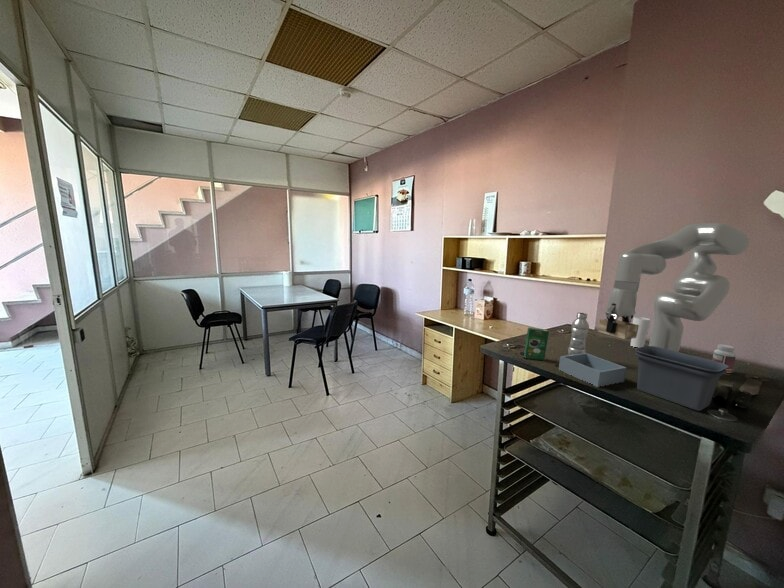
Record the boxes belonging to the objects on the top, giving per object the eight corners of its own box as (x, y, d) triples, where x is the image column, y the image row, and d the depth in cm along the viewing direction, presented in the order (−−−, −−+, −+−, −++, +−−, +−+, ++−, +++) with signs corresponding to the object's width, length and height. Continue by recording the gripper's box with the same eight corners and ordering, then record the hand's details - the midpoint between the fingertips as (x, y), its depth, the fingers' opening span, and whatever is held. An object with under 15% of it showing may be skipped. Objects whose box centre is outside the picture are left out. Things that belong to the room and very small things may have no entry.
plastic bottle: (587, 361, 134) (595, 315, 130) (571, 360, 134) (578, 314, 130) (579, 355, 140) (585, 312, 137) (563, 355, 140) (570, 311, 137)
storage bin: (623, 387, 109) (631, 348, 107) (644, 379, 117) (651, 343, 115) (706, 418, 91) (717, 372, 89) (724, 407, 99) (734, 364, 97)
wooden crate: (609, 330, 127) (611, 318, 126) (636, 338, 117) (638, 325, 117) (597, 331, 124) (599, 319, 123) (624, 339, 115) (627, 325, 114)
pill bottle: (730, 371, 130) (736, 346, 128) (732, 376, 125) (739, 349, 123) (709, 367, 134) (714, 342, 132) (710, 371, 129) (716, 345, 127)
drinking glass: (646, 350, 152) (651, 320, 150) (628, 347, 156) (634, 318, 153) (644, 347, 158) (650, 318, 155) (627, 344, 162) (633, 315, 159)
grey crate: (583, 365, 128) (585, 352, 127) (624, 381, 114) (626, 367, 113) (558, 369, 123) (560, 356, 122) (597, 387, 109) (600, 372, 108)
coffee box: (543, 358, 135) (547, 328, 132) (545, 360, 132) (549, 330, 130) (523, 356, 136) (527, 327, 134) (524, 358, 133) (528, 328, 131)
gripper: (629, 285, 124) (621, 328, 127) (600, 284, 118) (592, 330, 120) (651, 288, 118) (641, 334, 120) (621, 287, 111) (612, 335, 114)
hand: (617, 331), depth 120 cm, fingers closed on wooden crate, 7 cm apart
